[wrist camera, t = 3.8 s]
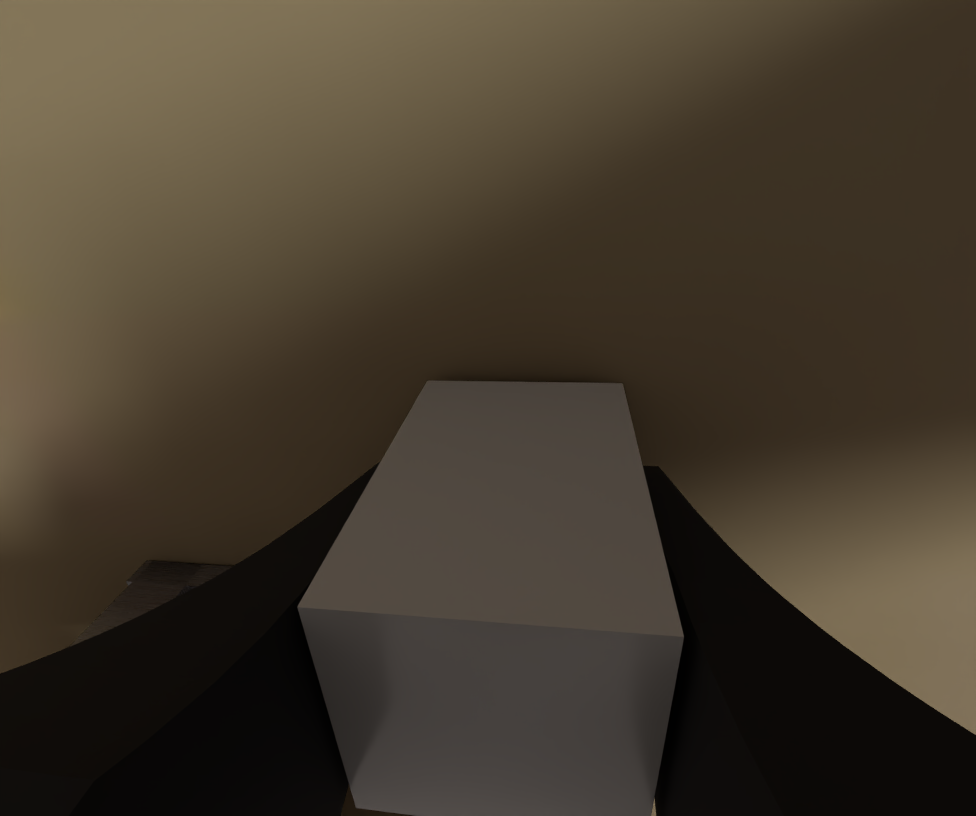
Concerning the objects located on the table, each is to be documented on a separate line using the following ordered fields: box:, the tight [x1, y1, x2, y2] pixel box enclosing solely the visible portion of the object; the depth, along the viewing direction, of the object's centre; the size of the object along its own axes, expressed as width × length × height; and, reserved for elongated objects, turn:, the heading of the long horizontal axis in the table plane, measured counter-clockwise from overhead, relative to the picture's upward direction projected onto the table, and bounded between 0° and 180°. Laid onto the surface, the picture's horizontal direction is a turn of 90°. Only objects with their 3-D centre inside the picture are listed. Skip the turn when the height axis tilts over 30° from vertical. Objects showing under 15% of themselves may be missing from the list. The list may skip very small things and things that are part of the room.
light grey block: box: [297, 381, 684, 816], centre depth 9 cm, size 4×4×6 cm
